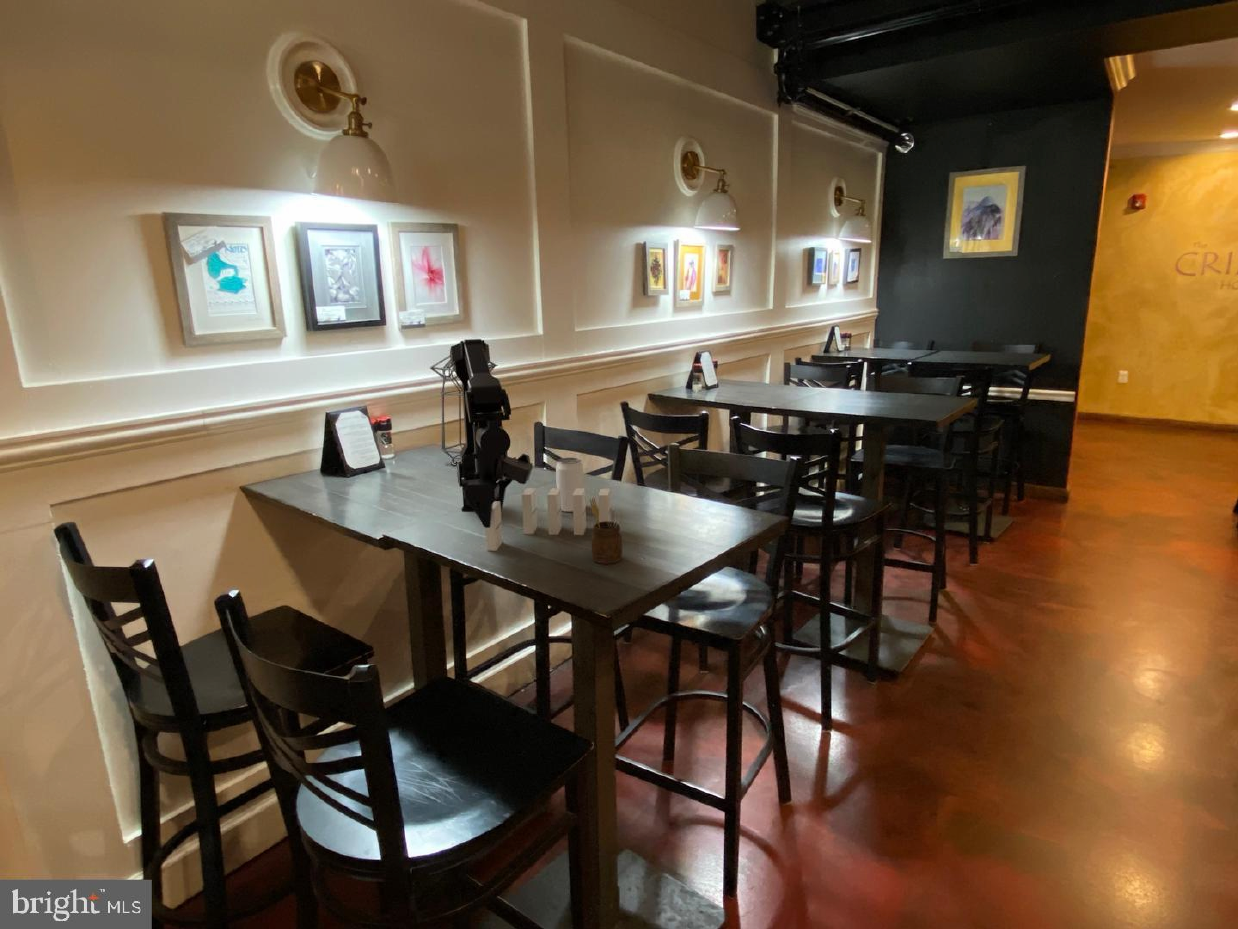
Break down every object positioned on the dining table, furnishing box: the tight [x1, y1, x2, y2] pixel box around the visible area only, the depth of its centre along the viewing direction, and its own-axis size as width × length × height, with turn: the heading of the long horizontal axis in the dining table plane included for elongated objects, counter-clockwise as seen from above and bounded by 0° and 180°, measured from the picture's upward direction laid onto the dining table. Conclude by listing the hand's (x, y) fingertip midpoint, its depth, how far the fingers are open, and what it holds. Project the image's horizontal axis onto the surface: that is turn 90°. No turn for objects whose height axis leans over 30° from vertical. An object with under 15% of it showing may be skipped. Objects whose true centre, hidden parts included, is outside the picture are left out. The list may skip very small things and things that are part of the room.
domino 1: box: [485, 501, 504, 552], centre depth 147 cm, size 2×5×9 cm, turn 175°
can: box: [555, 457, 585, 513], centre depth 171 cm, size 6×6×12 cm
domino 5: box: [597, 488, 612, 522], centre depth 155 cm, size 2×5×9 cm, turn 175°
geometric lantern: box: [429, 354, 498, 463], centre depth 214 cm, size 16×16×35 cm
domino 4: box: [572, 488, 587, 536], centre depth 155 cm, size 2×5×9 cm, turn 175°
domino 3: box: [546, 487, 563, 536], centre depth 156 cm, size 2×5×9 cm, turn 175°
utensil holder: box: [589, 497, 623, 565], centre depth 139 cm, size 6×6×12 cm
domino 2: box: [521, 487, 538, 535], centre depth 156 cm, size 2×5×9 cm, turn 175°
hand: (493, 520), depth 147 cm, fingers open, 9 cm apart
